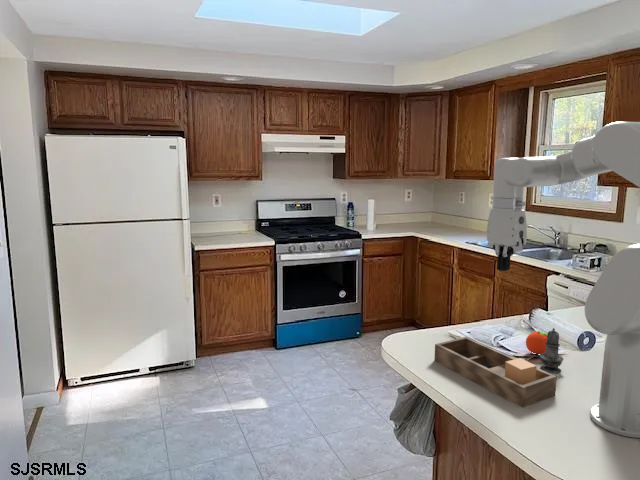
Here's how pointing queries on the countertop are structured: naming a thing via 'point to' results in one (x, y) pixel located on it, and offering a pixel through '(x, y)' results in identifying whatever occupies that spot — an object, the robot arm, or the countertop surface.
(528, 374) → the block
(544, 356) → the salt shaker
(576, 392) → the countertop surface
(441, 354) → the wooden divided tray
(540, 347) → the clementine
